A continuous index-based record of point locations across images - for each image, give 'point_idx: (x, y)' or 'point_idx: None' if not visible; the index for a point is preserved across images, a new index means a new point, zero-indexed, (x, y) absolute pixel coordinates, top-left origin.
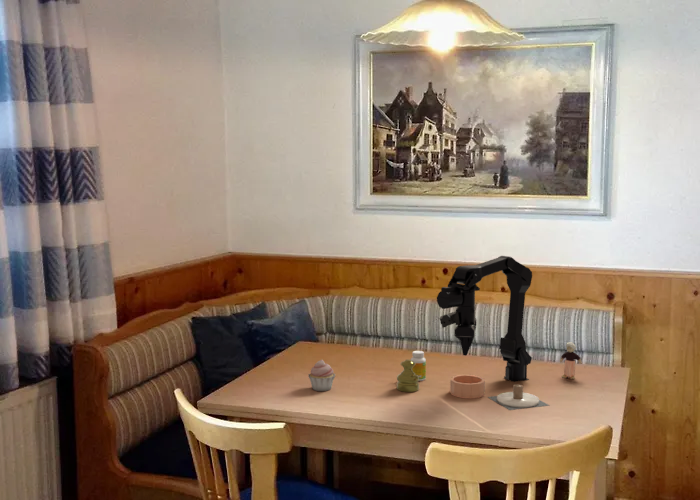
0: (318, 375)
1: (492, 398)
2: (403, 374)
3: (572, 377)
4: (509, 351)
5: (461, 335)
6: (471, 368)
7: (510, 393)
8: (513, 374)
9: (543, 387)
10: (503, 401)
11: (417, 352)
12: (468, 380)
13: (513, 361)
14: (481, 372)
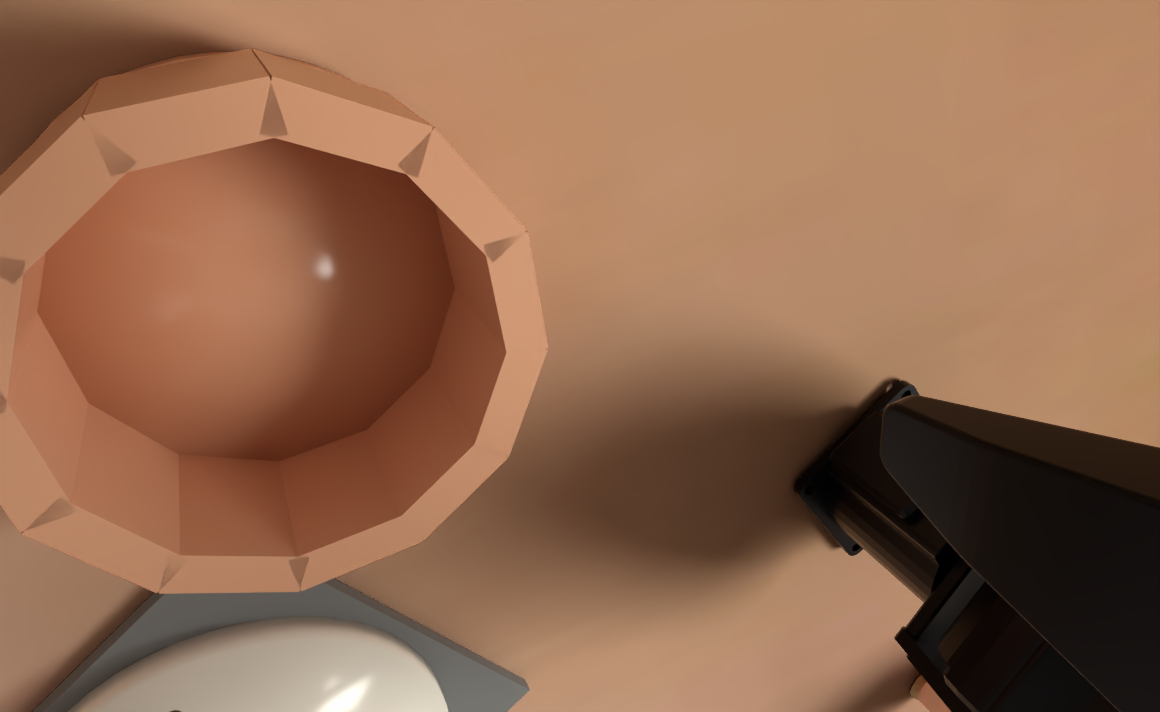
0: None
1: (199, 593)
2: None
3: (917, 697)
4: (1031, 655)
5: None
6: (1153, 18)
7: (373, 689)
8: (864, 506)
9: (724, 673)
10: None
11: None
12: (474, 281)
13: (970, 568)
14: (1041, 149)
